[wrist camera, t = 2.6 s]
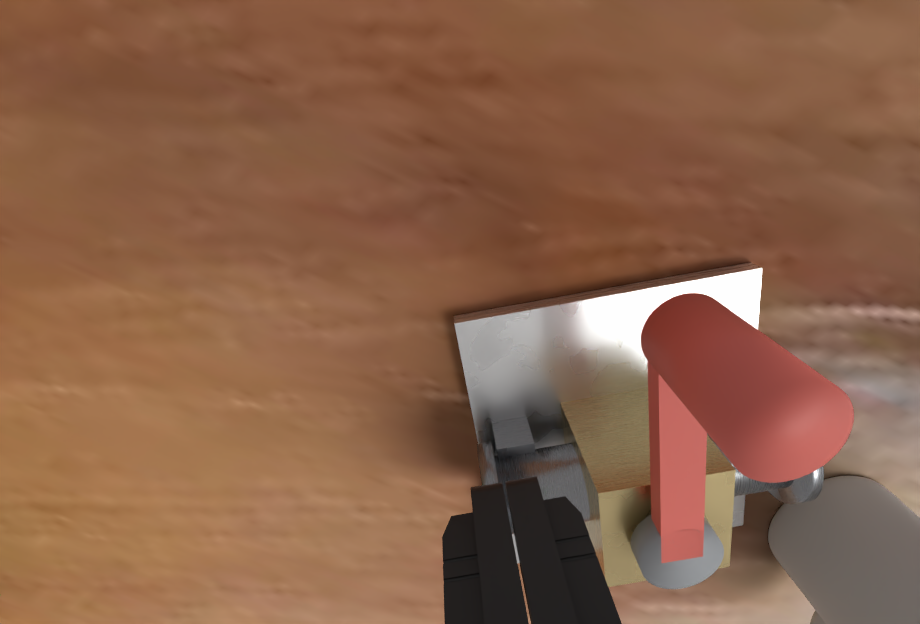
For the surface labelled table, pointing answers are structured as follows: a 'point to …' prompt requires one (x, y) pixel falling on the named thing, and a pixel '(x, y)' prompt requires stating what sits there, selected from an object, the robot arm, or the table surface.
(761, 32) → the table surface
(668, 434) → the lever
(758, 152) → the table surface
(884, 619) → the mug
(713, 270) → the valve body
